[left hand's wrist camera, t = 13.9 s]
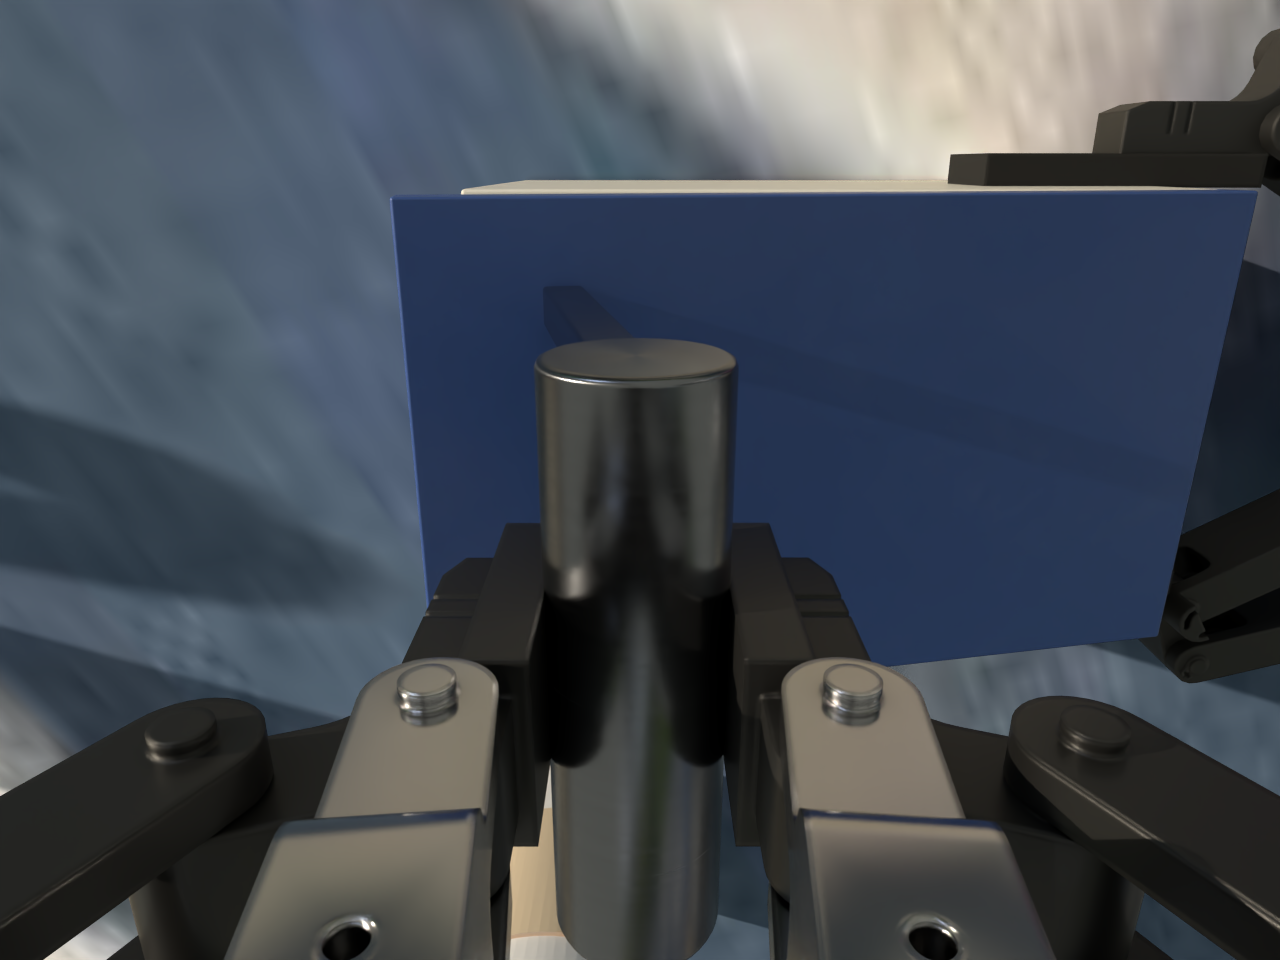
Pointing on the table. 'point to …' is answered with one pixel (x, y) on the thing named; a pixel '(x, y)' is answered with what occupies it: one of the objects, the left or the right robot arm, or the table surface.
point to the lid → (796, 453)
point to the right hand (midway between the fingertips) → (941, 380)
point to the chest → (762, 186)
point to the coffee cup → (537, 898)
